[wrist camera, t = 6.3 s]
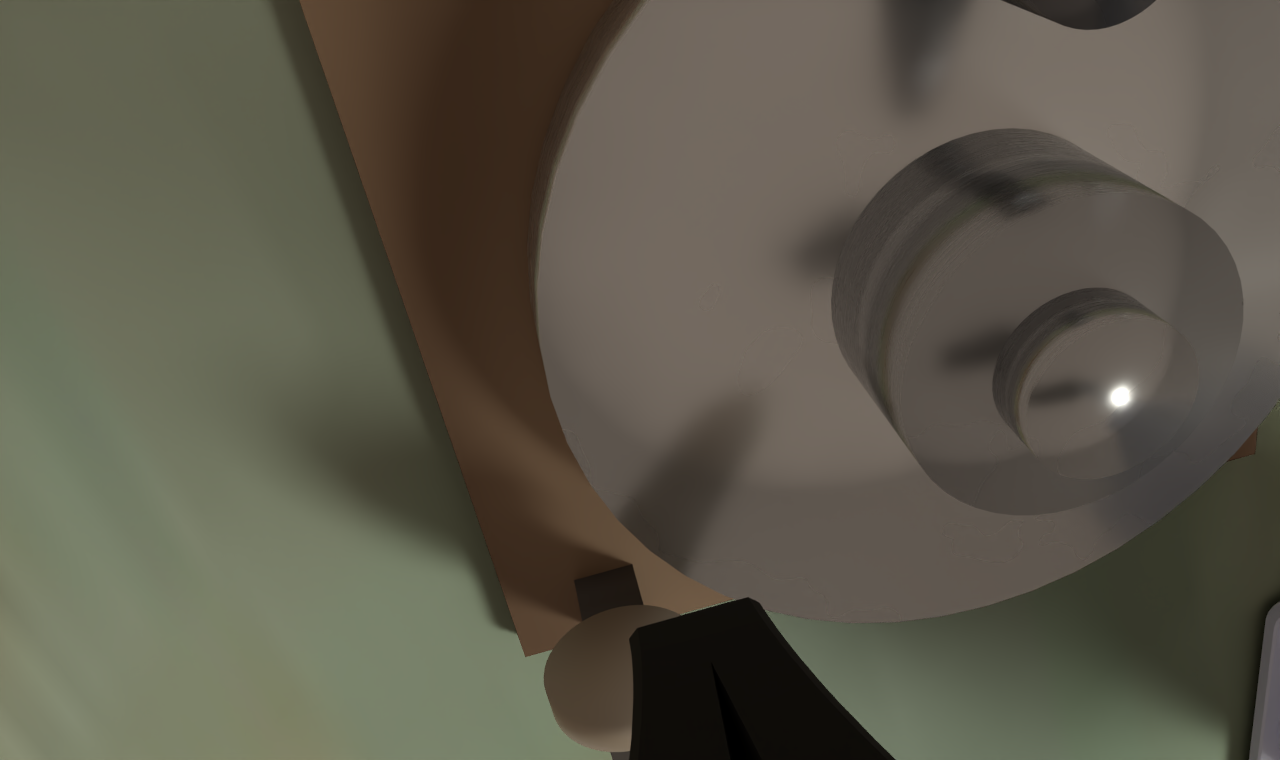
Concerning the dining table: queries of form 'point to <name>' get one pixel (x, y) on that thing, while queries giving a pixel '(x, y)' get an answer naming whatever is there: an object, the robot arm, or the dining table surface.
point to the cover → (1034, 320)
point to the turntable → (808, 254)
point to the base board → (499, 315)
